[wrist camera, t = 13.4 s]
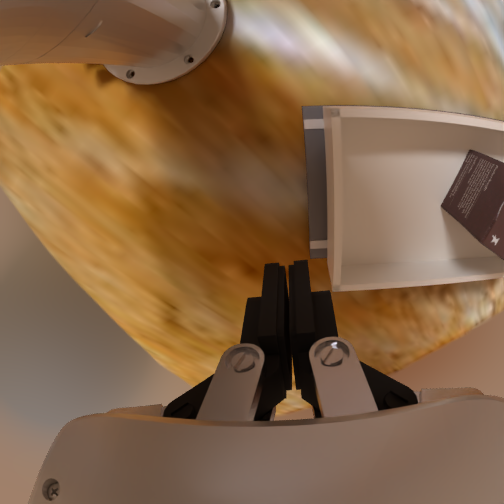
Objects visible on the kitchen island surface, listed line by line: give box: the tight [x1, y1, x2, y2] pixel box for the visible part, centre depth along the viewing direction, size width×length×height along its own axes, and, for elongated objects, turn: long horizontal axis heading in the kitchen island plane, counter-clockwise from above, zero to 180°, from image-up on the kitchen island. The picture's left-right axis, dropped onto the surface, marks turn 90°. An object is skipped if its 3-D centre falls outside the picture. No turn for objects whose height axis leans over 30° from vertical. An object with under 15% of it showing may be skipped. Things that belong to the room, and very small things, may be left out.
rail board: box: [302, 105, 504, 259], centre depth 24 cm, size 33×14×1 cm, turn 96°
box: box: [441, 149, 504, 260], centre depth 18 cm, size 6×6×7 cm
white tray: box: [323, 106, 504, 292], centre depth 22 cm, size 20×14×5 cm
